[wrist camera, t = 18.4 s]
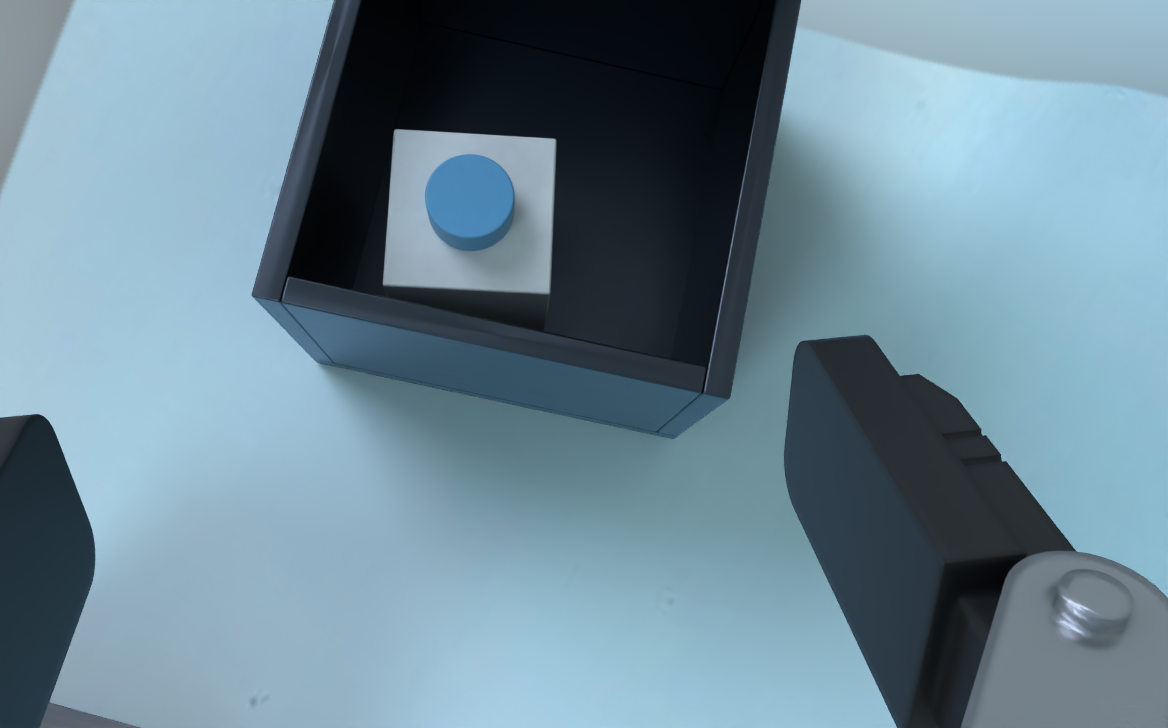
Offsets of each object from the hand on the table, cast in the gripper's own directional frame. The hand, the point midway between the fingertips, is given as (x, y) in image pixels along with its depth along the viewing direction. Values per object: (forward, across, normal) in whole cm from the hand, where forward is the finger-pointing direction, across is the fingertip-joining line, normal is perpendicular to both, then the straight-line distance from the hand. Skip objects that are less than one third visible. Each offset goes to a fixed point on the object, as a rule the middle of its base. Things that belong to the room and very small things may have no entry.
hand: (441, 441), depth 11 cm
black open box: (+27, -3, +10) cm, 29 cm away
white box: (+25, -1, +11) cm, 27 cm away
